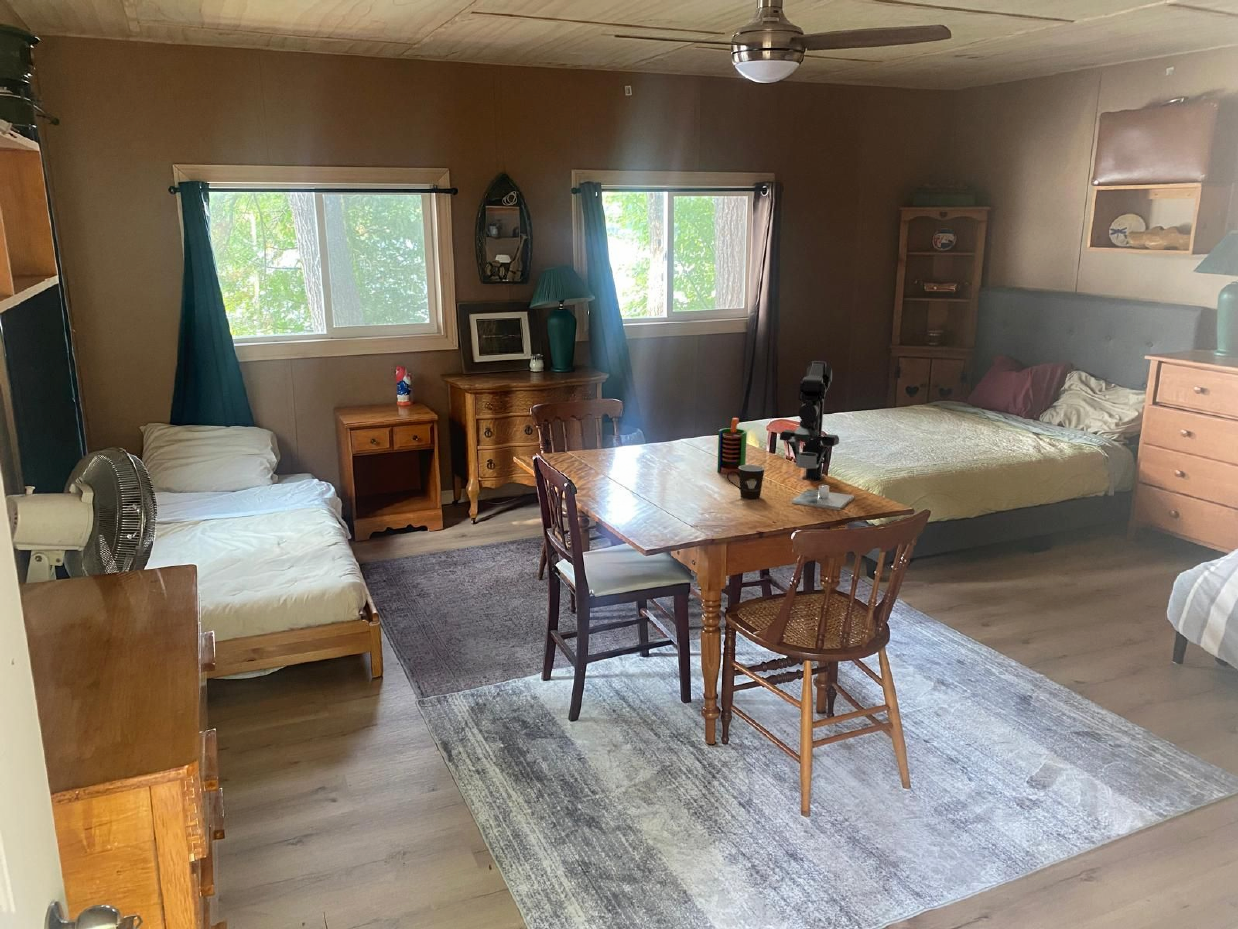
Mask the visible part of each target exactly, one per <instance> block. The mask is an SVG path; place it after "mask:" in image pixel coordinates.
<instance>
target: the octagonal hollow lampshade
mask: <svg viewBox="0 0 1238 929" xmlns="http://www.w3.org/2000/svg"><path fill="white" fill-rule="evenodd" d="M817 459H818V454H817V453H811V452H802V451H801V452H800V451H799V453H797V454H796V459H795V466H796V467H797V468H800V469H801V468H802V469H806V468H807V469H811V468H817V467H819V465H817Z"/></svg>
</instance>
